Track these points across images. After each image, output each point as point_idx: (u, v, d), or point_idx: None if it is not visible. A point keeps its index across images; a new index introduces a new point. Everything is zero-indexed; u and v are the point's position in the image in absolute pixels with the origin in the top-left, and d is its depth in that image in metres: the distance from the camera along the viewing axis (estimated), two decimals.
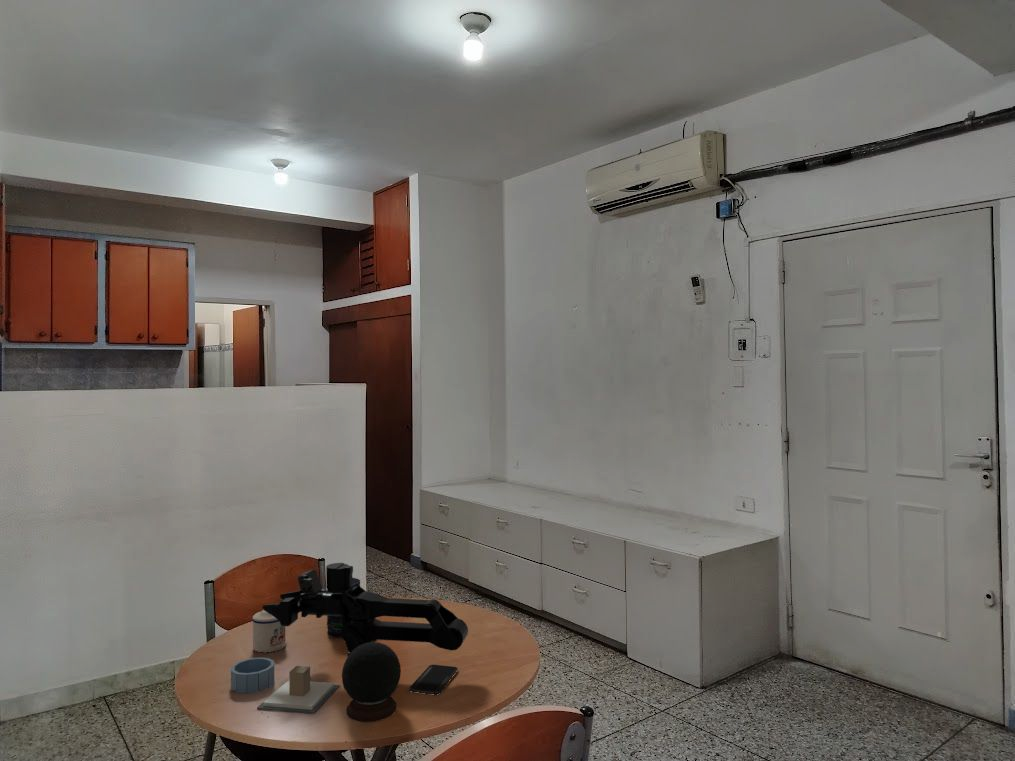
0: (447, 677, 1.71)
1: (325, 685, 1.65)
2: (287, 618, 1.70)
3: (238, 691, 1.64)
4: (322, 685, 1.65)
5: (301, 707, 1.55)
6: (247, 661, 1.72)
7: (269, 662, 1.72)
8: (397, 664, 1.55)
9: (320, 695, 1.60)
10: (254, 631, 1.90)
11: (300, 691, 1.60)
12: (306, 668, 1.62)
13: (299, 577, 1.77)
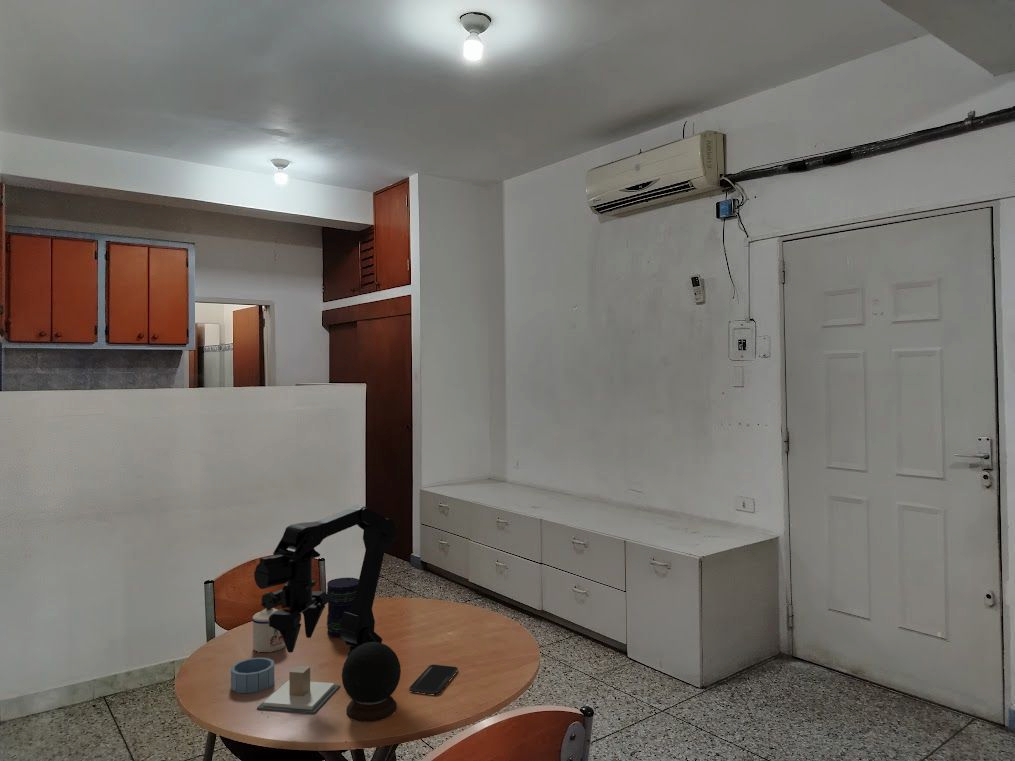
0: (447, 677, 1.71)
1: (325, 685, 1.65)
2: (283, 619, 1.52)
3: (238, 691, 1.64)
4: (322, 685, 1.65)
5: (301, 707, 1.55)
6: (247, 661, 1.72)
7: (269, 662, 1.72)
8: (397, 664, 1.55)
9: (320, 695, 1.60)
10: (254, 631, 1.90)
11: (300, 691, 1.60)
12: (306, 668, 1.62)
13: (266, 608, 1.61)
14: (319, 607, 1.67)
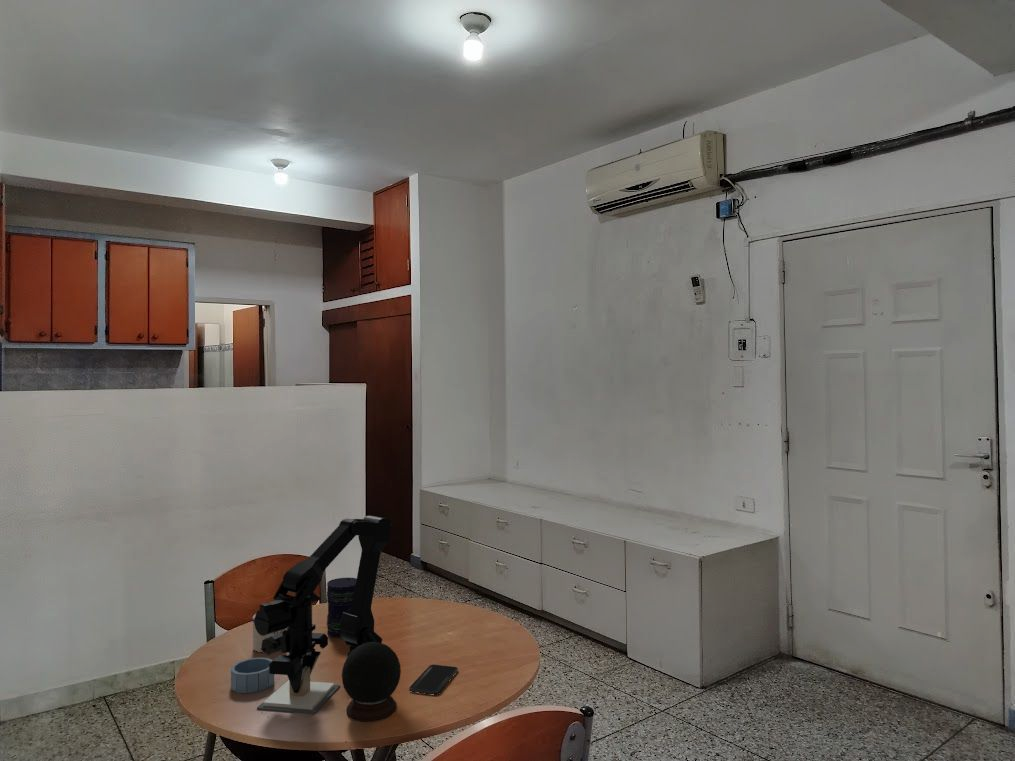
0: (447, 677, 1.71)
1: (325, 685, 1.65)
2: (284, 666, 1.52)
3: (238, 691, 1.64)
4: (322, 685, 1.65)
5: (301, 707, 1.55)
6: (247, 661, 1.72)
7: (269, 662, 1.72)
8: (397, 664, 1.55)
9: (320, 695, 1.60)
10: (254, 631, 1.90)
11: (300, 691, 1.60)
12: (306, 668, 1.62)
13: (266, 653, 1.61)
14: (314, 654, 1.65)
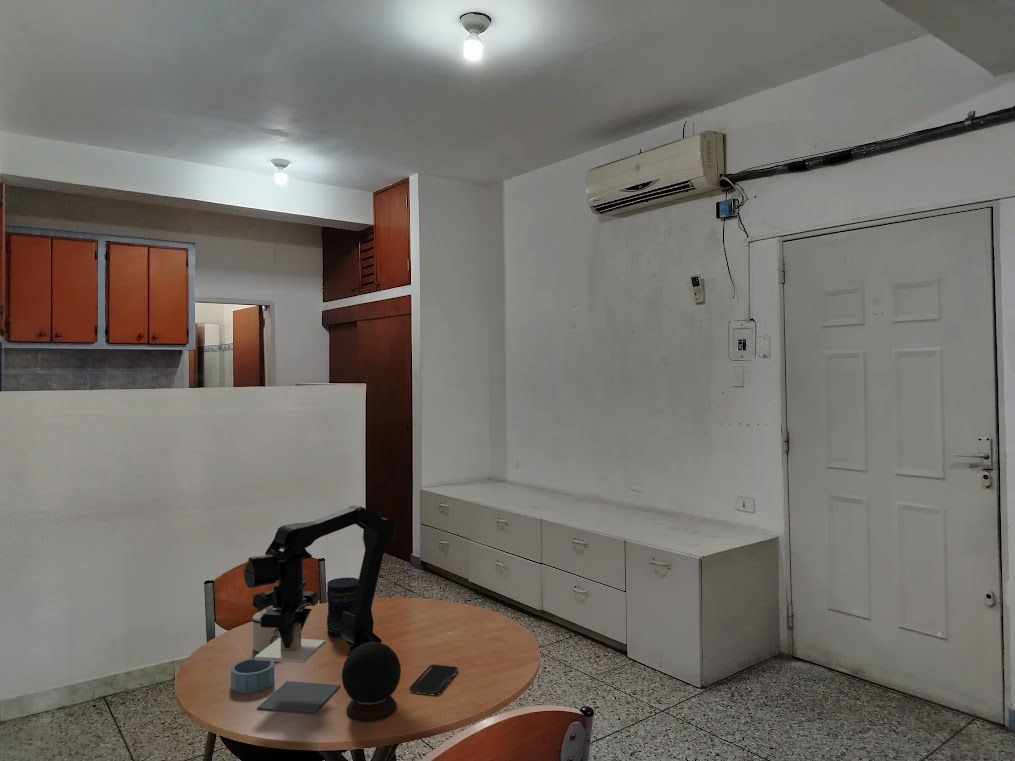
0: (447, 677, 1.71)
1: (316, 642, 1.67)
2: (275, 619, 1.53)
3: (238, 691, 1.64)
4: (313, 641, 1.67)
5: (292, 661, 1.56)
6: (247, 661, 1.72)
7: (269, 662, 1.72)
8: (397, 664, 1.55)
9: (311, 650, 1.61)
10: (254, 631, 1.90)
11: (291, 646, 1.61)
12: (297, 624, 1.63)
13: (257, 608, 1.62)
14: (305, 611, 1.66)
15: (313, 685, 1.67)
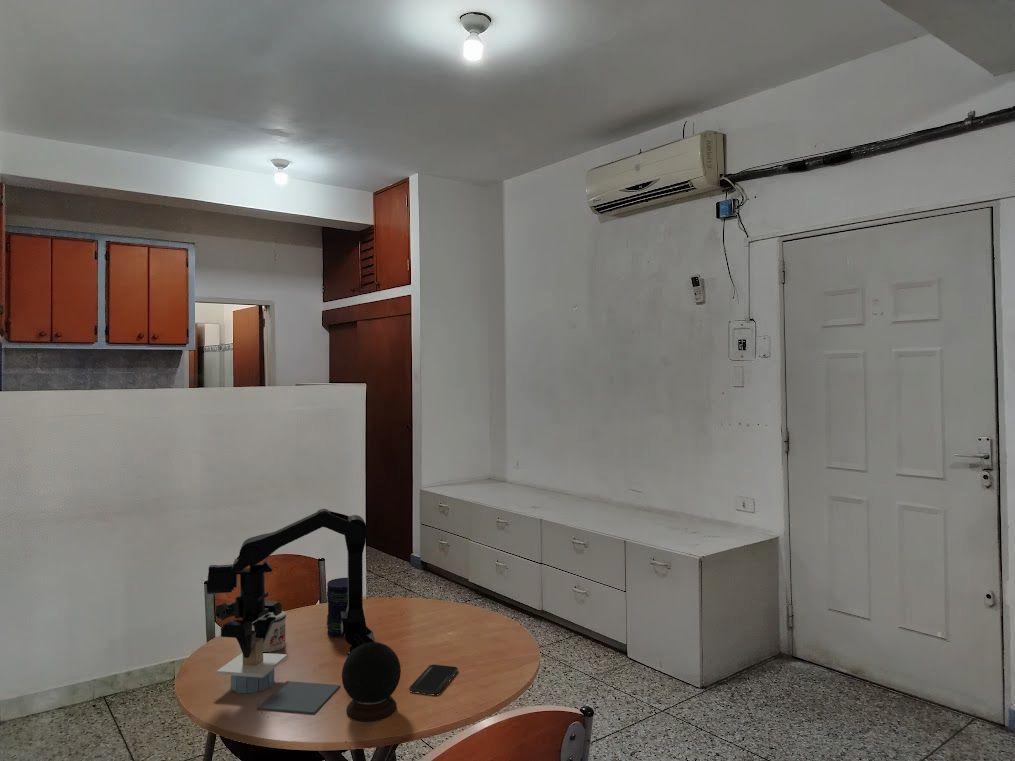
0: (447, 677, 1.71)
1: (278, 656, 1.73)
2: (235, 629, 1.60)
3: (238, 691, 1.64)
4: (275, 656, 1.73)
5: (252, 675, 1.63)
6: None
7: None
8: (397, 664, 1.55)
9: (272, 665, 1.67)
10: None
11: (252, 660, 1.67)
12: (259, 639, 1.70)
13: (220, 618, 1.68)
14: (269, 619, 1.73)
15: (313, 685, 1.67)
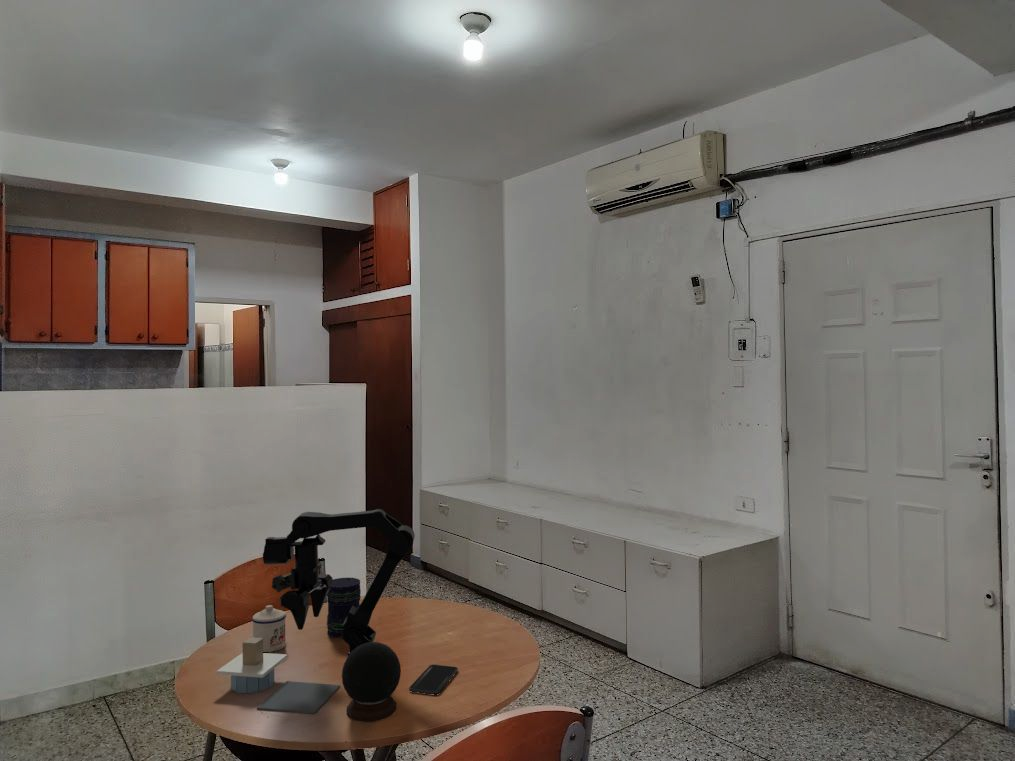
0: (447, 677, 1.71)
1: (278, 656, 1.73)
2: (294, 598, 1.66)
3: (238, 691, 1.64)
4: (275, 656, 1.73)
5: (252, 675, 1.63)
6: None
7: None
8: (398, 664, 1.55)
9: (272, 665, 1.67)
10: (254, 631, 1.90)
11: (252, 660, 1.67)
12: (259, 639, 1.70)
13: (276, 590, 1.75)
14: (325, 588, 1.81)
15: (313, 685, 1.67)
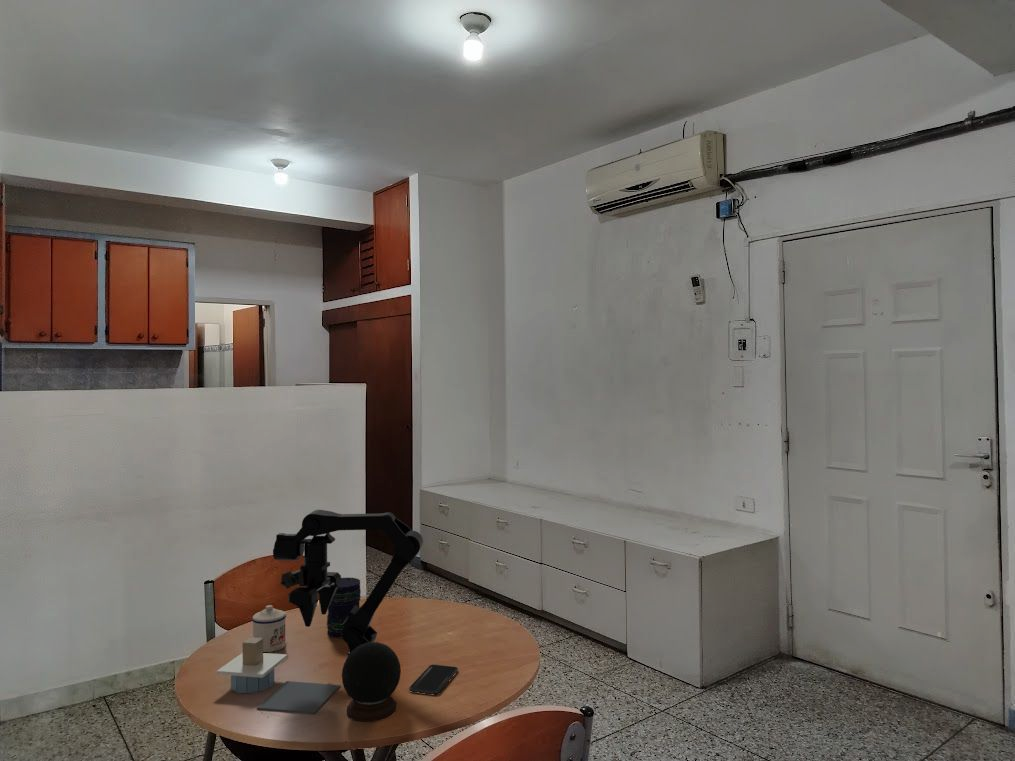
0: (447, 677, 1.71)
1: (278, 656, 1.73)
2: (302, 595, 1.68)
3: (238, 691, 1.64)
4: (275, 656, 1.73)
5: (252, 675, 1.63)
6: None
7: None
8: (397, 664, 1.55)
9: (272, 665, 1.67)
10: (254, 631, 1.90)
11: (252, 660, 1.67)
12: (259, 639, 1.70)
13: (285, 586, 1.76)
14: (333, 586, 1.83)
15: (313, 685, 1.67)
